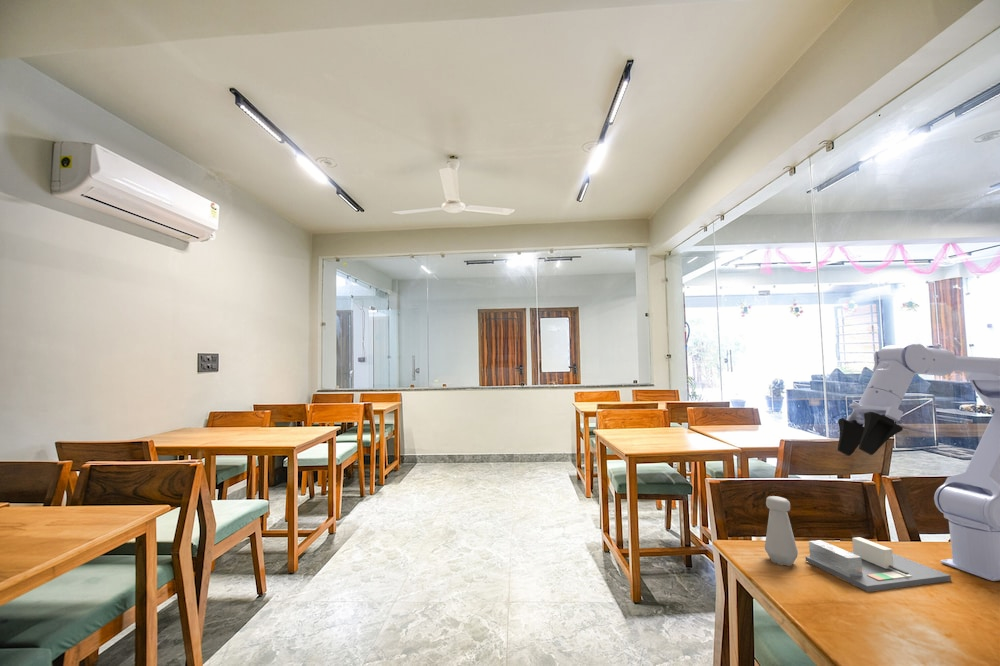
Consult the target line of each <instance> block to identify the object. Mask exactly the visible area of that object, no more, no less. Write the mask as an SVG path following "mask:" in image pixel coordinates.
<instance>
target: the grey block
mask: <svg viewBox="0 0 1000 666" xmlns="http://www.w3.org/2000/svg"><path fill="white" fill-rule="evenodd" d="M808 549H809V550H808V551H809V556H810V559H811V560H814V561H816V562H818V563H820V564H822V565H824V566H826V567H828V568H830V569H832V570H835V571H837V572H839V573H841V574H843V575H845V576H847V577H849V578H853V577H861V576H863V573H862V560H861V557H860V556H858V555H855V554H853V553H850V552H851V551H847V550H845V549H843V548H841V547H838V546H836V545H833V544H831V543H828V542H826V541H823V540H822V539H817V540H809V541H808Z"/></svg>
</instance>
